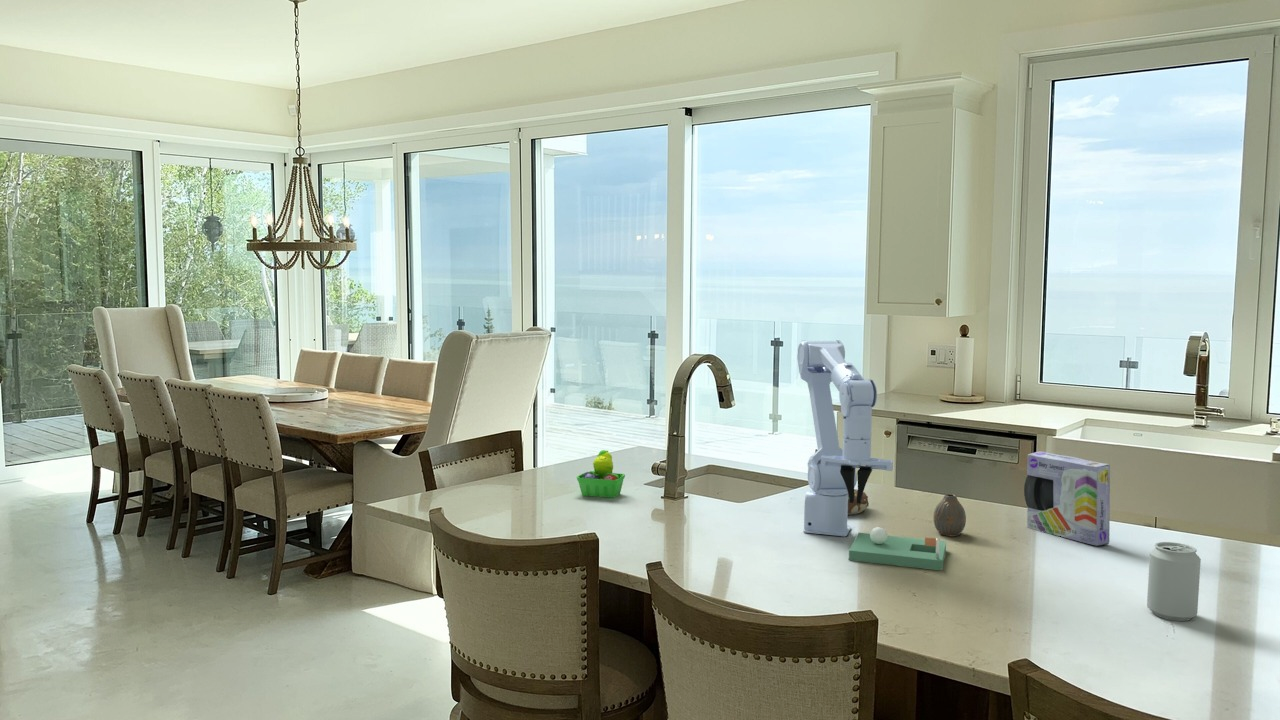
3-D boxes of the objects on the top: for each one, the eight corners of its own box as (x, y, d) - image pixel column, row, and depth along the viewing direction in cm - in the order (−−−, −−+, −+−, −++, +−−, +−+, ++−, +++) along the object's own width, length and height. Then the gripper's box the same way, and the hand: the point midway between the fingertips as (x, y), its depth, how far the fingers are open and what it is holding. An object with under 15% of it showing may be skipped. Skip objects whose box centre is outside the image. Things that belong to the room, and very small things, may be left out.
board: (848, 559, 188) (849, 550, 187) (858, 541, 201) (858, 532, 200) (941, 570, 181) (942, 560, 181) (945, 550, 194) (946, 541, 194)
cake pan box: (1020, 526, 213) (1024, 450, 212) (1035, 523, 216) (1039, 449, 214) (1095, 548, 196) (1099, 466, 195) (1110, 545, 199) (1115, 464, 197)
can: (1137, 607, 162) (1140, 540, 161) (1177, 606, 162) (1181, 539, 161) (1164, 623, 154) (1169, 553, 153) (1207, 622, 155) (1211, 552, 154)
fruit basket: (575, 496, 241) (575, 453, 239) (587, 489, 249) (587, 447, 248) (617, 499, 237) (617, 456, 236) (627, 492, 246) (627, 450, 245)
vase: (967, 538, 203) (969, 499, 202) (934, 536, 205) (936, 498, 204) (963, 530, 210) (964, 492, 209) (931, 528, 211) (932, 490, 210)
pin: (924, 567, 183) (925, 537, 182) (924, 566, 184) (925, 536, 183) (938, 569, 182) (939, 539, 181) (938, 568, 183) (939, 538, 182)
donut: (870, 518, 220) (871, 498, 220) (812, 516, 222) (813, 495, 222) (865, 504, 234) (866, 484, 234) (811, 501, 237) (811, 482, 236)
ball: (868, 545, 191) (869, 528, 191) (871, 540, 194) (871, 524, 194) (886, 546, 190) (886, 530, 190) (888, 542, 193) (888, 525, 193)
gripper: (818, 438, 191) (817, 503, 192) (890, 442, 185) (889, 509, 187) (824, 433, 197) (823, 496, 198) (894, 437, 192) (892, 501, 193)
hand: (855, 502), depth 193 cm, fingers closed
